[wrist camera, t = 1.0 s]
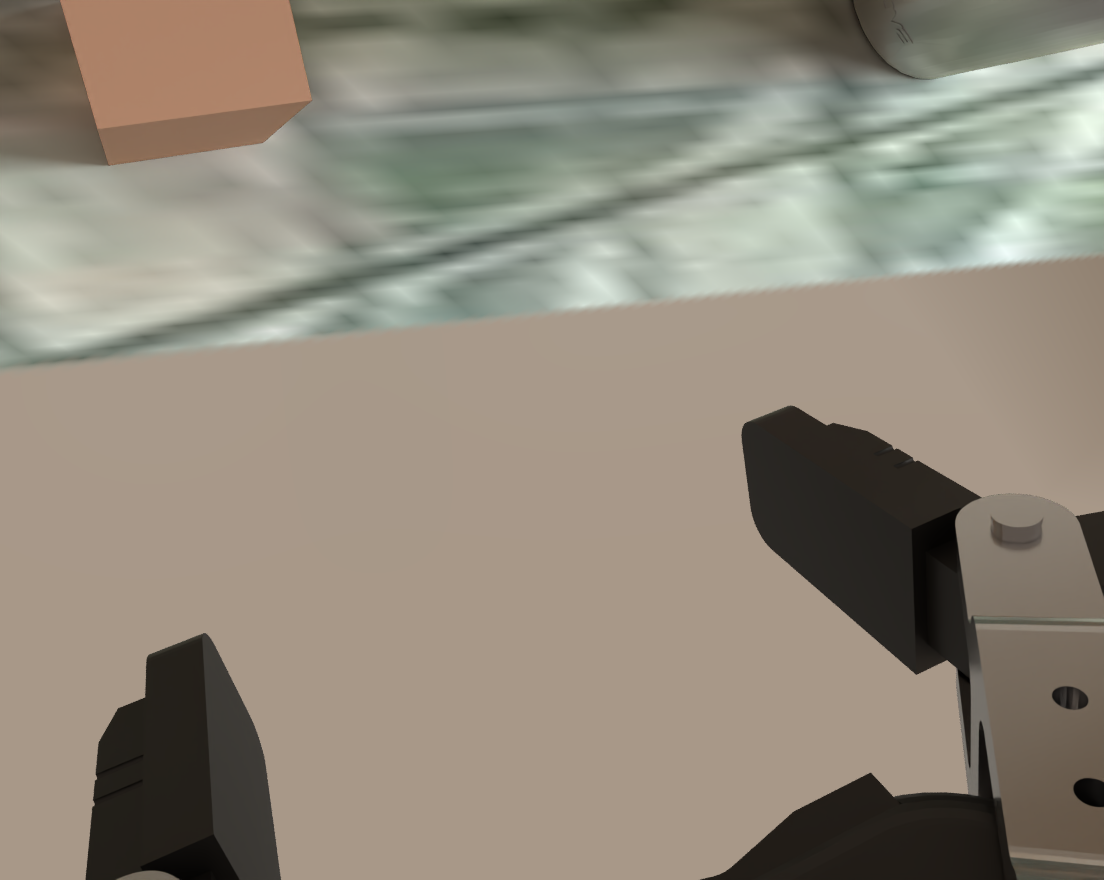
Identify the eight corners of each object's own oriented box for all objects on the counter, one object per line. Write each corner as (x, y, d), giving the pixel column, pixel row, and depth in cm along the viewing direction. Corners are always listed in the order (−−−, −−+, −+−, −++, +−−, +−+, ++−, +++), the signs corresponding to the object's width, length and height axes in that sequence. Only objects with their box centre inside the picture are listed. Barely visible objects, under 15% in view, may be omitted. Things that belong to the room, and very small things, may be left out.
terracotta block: (224, -14, 31) (260, -123, 22) (263, 142, 32) (311, 100, 23) (61, 1, 29) (28, -111, 20) (108, 165, 30) (97, 129, 22)
